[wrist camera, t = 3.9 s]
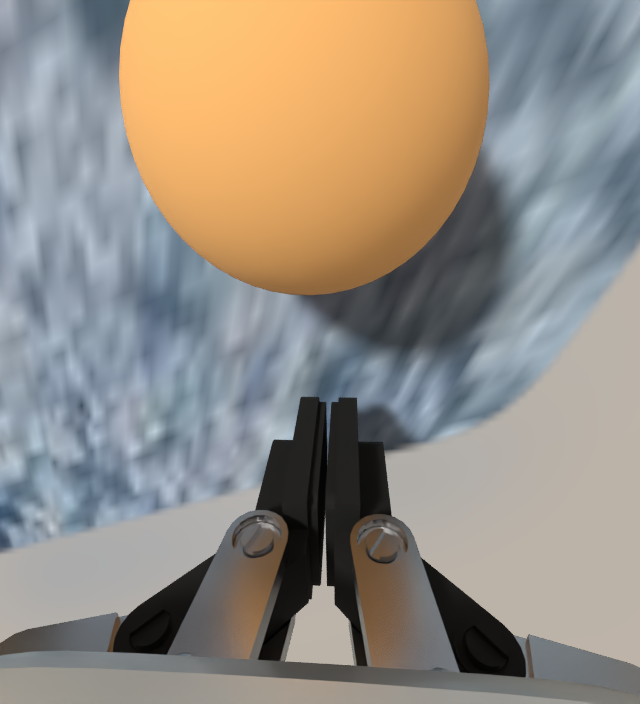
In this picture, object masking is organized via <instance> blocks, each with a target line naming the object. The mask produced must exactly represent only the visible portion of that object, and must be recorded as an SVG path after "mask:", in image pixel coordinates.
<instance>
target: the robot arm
mask: <svg viewBox="0 0 640 704" xmlns="http://www.w3.org/2000/svg"><path fill="white" fill-rule="evenodd" d="M325 517H326V556H327V557H326V559H327V586H335V605H336V606H337V607H338V608H339V609H340V610H341V612H343V614H344V615H345V616H346V617H347V618H348V619H349V631H350V638H351V645H352V652H353V659H354V666H351V665H334V664H317V663H301V662H285V660H286V656H287V652H288V647H289V644H290V640H291V636H292V632H293V628H294V624H295V615H296V613H297V612H298V611H300V610H301V609H302V608H303V607H304V606H305V605H306V604H307V603H308V601H309V599H312V588H313V585H318V586H320V584H321V572H322V555H323V539H324V522H325ZM0 704H640V668H639V667H637V666H635V665H632V664H630V663H627V662H623V661H620V660H616V659H612V658H609V657H606V656H602V655H598V654H595V653H592V652H588V651H585V650H581V649H578V648H574V647H571V646H567V645H564V644H560V643H557V642H553V641H550V640H546V639H543V638H539V637H536V636H532V635H528V637H527V639H525V638H521V637H518V636H514V635H513V634H512V633H511V632H510V631H509V630H508V629H507V628H506V627H505V626H504V625H503V624H502V623H501V622H499V621H498V620H497V619H496V618H495V617H493V616H492V615H491V614H490V613H488V612H487V611H486V610H485V609H484V608H482V607H481V606H480V605H479V604H477V603H476V602H475V601H474V600H472V599H471V598H470V597H469V596H468V595H466V594H465V593H464V592H463V591H461V590H460V589H459V588H458V587H456V586H455V585H454V584H453V583H451V582H450V581H449V580H448V579H447V578H445V577H444V576H443V575H442V574H441V573H439V572H438V571H437V570H436V569H434V568H433V567H432V566H431V565H429V564H428V563H427V562H426V561H425V560H423V559H422V558H421V557H420V554H419V551H418V548H417V545H416V542H415V539H414V536H413V535H412V533H411V531H410V529H409V528H408V527H407V526H406V525H405V524H404V523H403V522H402V521H400V520H398V519H397V518H395V517H392V515H391V507H390V498H389V490H388V481H387V472H386V464H385V455H384V447H383V442H358V422H357V398H339V402H332V404H331V419H330V435H329V450H328V466H327V420H326V402H320V401H319V397H301V399H300V405H299V410H298V415H297V421H296V426H295V432H294V437H293V440H274V441H273V443H272V446H271V450H270V454H269V458H268V462H267V466H266V470H265V474H264V478H263V482H262V486H261V490H260V494H259V498H258V502H257V506H256V510H255V511H252V512H248V513H246V514H244V515H242V516H240V517H239V518H237V519H236V520H235V521H234V522H233V523H232V524H231V526H230V527H229V529H228V530H227V532H226V534H225V536H224V538H223V540H222V542H221V544H220V546H219V549H218V550H217V553H216V554H214V555H213V556H211V557H210V558H208V559H207V560H205V561H204V562H202V563H201V564H199V565H198V566H197V567H195V568H194V569H192V570H191V571H189V572H188V573H186V574H185V575H183V576H182V577H181V578H179V579H177V580H176V581H174V582H173V583H172V584H170V585H169V586H167V587H166V588H164V589H163V590H161V591H160V592H158V593H157V594H155V595H154V596H153V597H151V598H149V599H148V600H147V601H145V602H144V603H142V604H141V605H139V606H138V607H137V608H136V609H134V610H133V611H132V612H131V613H130V614H129V615H127V616H122V617H119V616H118V614H117V613H112V614H106V615H101V616H96V617H90V618H85V619H80V620H75V621H69V622H64V623H59V624H53V625H48V626H43V627H38V628H32V629H27V630H25V631H22V632H19V633H16V634H14V635H12V636H11V637H9V638H8V639H6V640H5V641H3V642H1V643H0Z"/></svg>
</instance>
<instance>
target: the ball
mask: <svg viewBox="0 0 640 704" xmlns="http://www.w3.org/2000/svg"><path fill="white" fill-rule="evenodd" d="M119 81H120V96H121V107H122V112H123V118H124V124H125V129H126V133H127V137H128V140H129V144H130V147H131V151H132V154H133V158H134V160H135V162H136V165H137V167H138V170H139V172H140V175H141V177H142V180H143V182H144V184H145V186H146V187H147V189H148V191H149V193H150V195H151V197H152V199H153V200H154V202H155V204H156V205H157V207H158V208H159V210H160V211H161V213H162V214H163V216H164V217H165V218H166V220H167V221H168V223H169V224H170V225H171V226H172V227H173V229H174V230H175V231H176V232H177V233H178V234H179V236H180V237H181V238H182V239H183V240H184V241H185V242H186V243H187V244H188V245H189V246H190V247H191V248H192V249H194V250H195V251H196V252H197V253H198V254H199V255H200V256H202V257H203V258H204V259H206V260H207V261H208V262H210V263H211V264H212V265H214V266H215V267H216V268H218V269H220V270H222V271H223V272H225V273H227V274H228V275H230V276H232V277H234V278H236V279H238V280H240V281H243V282H245V283H247V284H250V285H252V286H255V287H259V288H262V289H265V290H269V291H273V292H279V293H285V294H291V295H320V294H331V293H336V292H340V291H345V290H350V289H353V288H356V287H359V286H362V285H365V284H367V283H370V282H372V281H374V280H376V279H378V278H380V277H382V276H384V275H386V274H388V273H390V272H391V271H393V270H394V269H396V268H397V267H399V266H400V265H402V264H404V263H405V262H406V261H408V260H409V259H410V258H411V257H412V256H413V255H415V254H416V253H417V252H418V251H419V250H421V249H422V248H423V247H424V246H425V245H426V244H427V243H428V241H429V240H430V239H431V238H432V237H433V236H434V235H435V234H436V233H437V232H438V231H439V229H440V228H441V227H442V225H443V224H444V222H445V221H446V220H447V218H448V217H449V216H450V214H451V213H452V211H453V210H454V208H455V206H456V204H457V203H458V201H459V199H460V197H461V196H462V194H463V192H464V190H465V188H466V186H467V183H468V181H469V179H470V177H471V174H472V172H473V170H474V167H475V164H476V161H477V157H478V154H479V151H480V148H481V144H482V141H483V135H484V130H485V125H486V119H487V113H488V99H489V64H488V52H487V46H486V40H485V34H484V28H483V23H482V20H481V17H480V13H479V10H478V6H477V3H476V0H130V4H129V7H128V11H127V14H126V18H125V23H124V29H123V35H122V42H121V48H120V70H119Z"/></svg>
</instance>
